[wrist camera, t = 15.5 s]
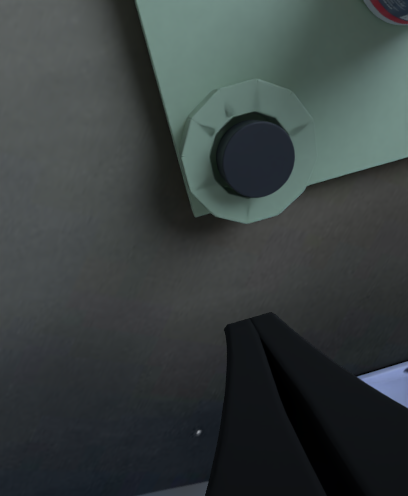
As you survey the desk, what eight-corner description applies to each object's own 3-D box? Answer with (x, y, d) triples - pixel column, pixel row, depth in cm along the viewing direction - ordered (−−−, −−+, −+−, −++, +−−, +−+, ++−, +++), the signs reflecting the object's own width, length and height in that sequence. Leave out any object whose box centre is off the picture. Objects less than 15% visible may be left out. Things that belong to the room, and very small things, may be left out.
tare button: (276, 111, 14) (290, 112, 13) (286, 179, 15) (300, 187, 14) (208, 130, 14) (214, 133, 13) (223, 197, 15) (231, 206, 14)
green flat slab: (496, -205, 13) (585, -285, 11) (468, 139, 19) (522, 145, 16) (105, -106, 13) (92, -164, 10) (193, 217, 18) (200, 237, 16)
